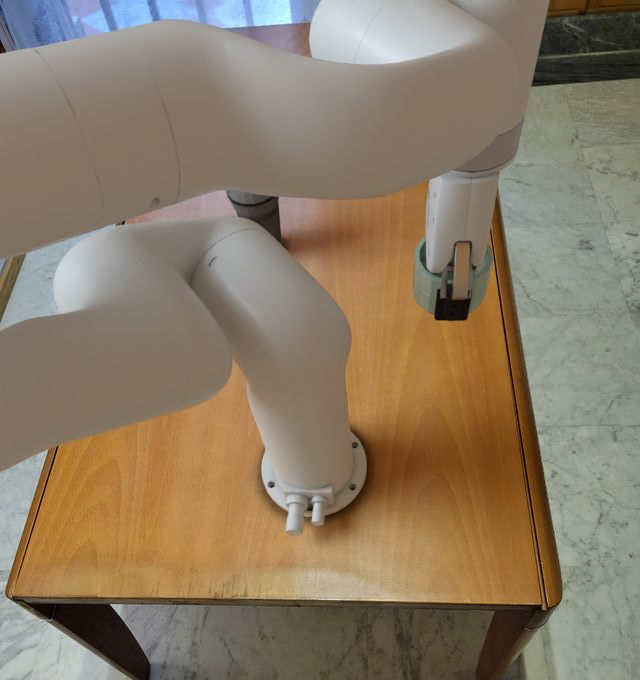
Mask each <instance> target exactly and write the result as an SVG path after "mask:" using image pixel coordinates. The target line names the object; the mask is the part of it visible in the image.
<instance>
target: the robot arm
mask: <svg viewBox="0 0 640 680" xmlns="http://www.w3.org/2000/svg"><path fill="white" fill-rule="evenodd" d="M550 1H551V0H320V1H319V3H318V4H317V7H316V9H314V13H313V16H312V18H311V22H310V25H309V26H310V27H309V34H308V43H309V50H310V55H311V57H310V56H306V55H302V54H299V53H295V52H292V51H287V50H285V49H283V48H282V49H281V48H278V47H276V46H273V45H270V44H268V43H265V42H262V41H259V40H257V39H254V38H251V37H250V36H246V35H243V34H241V33H238V32H235V31H231V30H230V29H229V30H228V29H226V28H223V27H222V28H221V27H219V26H215V25H211V24H207V23H202V22H197V21H192V20H187V19H180V18H179V19H178V18H166V19H160V20H155V21H151V22H146V23H144V24H138V25H132V26H128V27H124V28H119V29H113V30H110V31H106V32H101V33H97V34H92V35H88V36H82V37H77V38H73V39H67V40H64V41H63V40H62V41H59V42H58V41H57V42H54V43H49V44H44V45H38V46H35V47H25V48H22V49H16V50H12V51H7V52H2V53H0V261H5V260H8V259H12V258H15V257H19V256H23V255H26V254H30V253H32V252H35V251H39V250H41V249H44V248H47V247H50V246H53V245H56V244H59V243H63V242H65V241H68V240H72V239H75V238H77V237H80V236H83V235H86V234H89V233H92V232H94V233H92V234H89V235H88V236H86V237H85V238H82V239H81V240H79V242H77V243H76V244H74V245H73V246H72V247H71V248H70V249H69V250H68V251H67V252H66V253H65V254H64V256H63V257H62V259H61V260H60V262H59V264H58V265H57V268H56V270H55V273H54V276H53V277H54V278H53V284H52V292H53V298H54V302H55V305H56V308H57V311H58V313H59V314H51V315H44V316H37V317H32V318H27V319H24V320H21V321H18V322H16V323H13V324H12V325H11V324H10V325H9V326H7V327H5V328H3V329H1V330H0V473H2V472H4V471H6V470H9V469H10V468H13V467H14V466H16V465H18V464H20V463H22V462H24V461H26V460H28V459H31V458H32V457H34V456H37V455H39V454H42V453H44V452H46V451H48V450H50V449H53V448H56V447H60V446H63V445H66V444H68V443H72V442H75V441H76V442H77V441H79V440H83V439H88V438H92V437H95V436H99V435H102V434H106V433H109V432H113V431H116V430H119V429H123V428H126V427H130V426H133V425H137V424H140V423H144V422H147V421H151V420H156V419H159V418H162V417H165V416H169V415H172V414H176V413H178V412H182V411H185V410H189V409H191V408H193V407H194V408H195V407H196V406H199V405H201V404H204V403H206V402H207V401H209V400H211V399H213V398H214V397H215V396H217V395H218V394H219V393H220V392H221V391H222V390H223V389H224V388H225V387H226V385H227V384H228V382H229V380H230V378H231V376H232V375H231V374H232V371H233V361H234V362H235V364H236V365H237V366H238V369H240V371H241V372H242V375H243V376H244V378H245V380H246V381H247V384H246V397H247V401H248V405H249V407H250V411H251V414H252V416H253V419H254V421H255V423H256V427H257V429H258V432H259V435H260V438H261V441H262V443H263V447H264V449H265V450H264V454H263V457H262V460H261V467H260V470H261V478H262V482H263V486H264V488H265V490H266V492H267V494H268V495H269V497H270V499H271V500H272V501H273V502H274V503H275V504H277V505H278V507H280V508H281V509H283V510H285V511H286V512H288V513H287V516H286V524H285V525H286V526H285V534H286V535H288V536H291V537H292V536H293V537H300V536H303V534H304V525H305V517H306V518H311V525H313V526H314V527H315V526H317V527H322V526H324V524H325V516H329V515H332V514H334V513H337V512H339V511H340V510H342V509H344V508H346V507H347V506H348V505H350V504H351V502H353V501H354V500H355V499H356V497H357V496H358V495H359V493H360V492H361V490H362V488H363V486H364V484H365V481H366V477H367V473H368V472H367V471H368V470H367V469H368V468H367V467H368V463H367V456H366V452H365V448H364V447H363V445H362V442H361V441H360V439H359V438H358V437H357V436H356V435H355V433H354V432H352V431H351V425H350V415H349V413H350V412H349V403H348V395H347V385H346V384H347V383H346V370H347V363H348V360H349V355H350V352H351V348H352V339H353V335H352V328H351V325H350V322H349V320H348V318H347V316H346V314H345V312H344V311H343V309H342V308H341V306H340V305H339V304H338V302H337V301H336V300H335V299H334V297H333V296H332V295H331V294H330V293H329V291H328V290H326V288H325V287H324V286H323V285H322V284H321V283H320V282H319V281H318V280H317V279H316V278H315V277H314V276H313V275H312V274H311V273H310V272H309V271H308V270H307V268H305V266H303V265H302V264H301V263H300V262H299V261H298V260H297V259H296V258H295V257H294V256H293V255H292V254H291V253H290V252H289V251H288V250H287V249H286V248H285V247H284V246H283V245H282V243H281V244H280V243H279V242H278V241H277V240H276V239H275V238H274V237H273V236H272V235H271V234H270V233H269V232H267V231H266V230H265V229H264V228H263V227H262V226H260V225H259V224H257V223H255V222H254V221H251V220H249V219H246V218H242V217H238V216H235V215H213V216H202V217H192V218H191V217H190V218H179V219H169V220H167V219H166V220H157V221H146V222H134V223H126V224H120V225H115V224H119V223H122V222H124V221H128V220H130V219H133V218H136V217H139V216H143V215H146V214H148V213H152V212H155V211H158V210H160V209H161V210H162V209H164V208H166V207H170V206H174V205H177V204H181V203H183V202H185V201H189V200H192V199H194V198H197V197H200V196H204V195H207V194H210V193H214V192H221V191H226V190H233V191H240V192H246V193H252V194H258V195H266V196H276V197H279V198H291V199H294V198H295V199H313V200H314V199H315V200H332V201H334V200H335V201H336V200H337V201H342V200H343V201H351V200H352V201H353V200H366V199H374V198H379V197H386V196H388V195H389V196H390V195H393V194H396V193H399V192H401V191H404V190H407V189H410V188H413V187H414V186H418V185H420V184H423V183H426V182H428V188H427V195H426V196H427V197H426V204H425V236H426V264H427V268H428V270H429V271H430V272H431V273H441V286H440V289H437V295H436V304H435V312H434V315H433V318H434V321H438V322H439V321H441V322H442V321H443V322H444V321H447V322H464V321H467V320H468V318H469V314H468V313H469V308H470V303H471V297H472V279H473V271H474V272H475V273H476V272H478V271H479V270H480V269H481V268H482V265H483V262H484V258H485V254H486V249H487V244H489V239H490V234H491V228H492V223H493V217H494V211H495V204H496V199H497V195H498V193H497V192H498V185H499V179H500V173H501V171H503V170H505V169H506V168H508V166H510V165H511V163H512V162H514V161H515V158H516V156H517V154H518V150H519V146H520V145H519V144H520V140H521V135H522V130H523V125H524V121H525V117H526V113H527V108H528V102H529V99H530V93H531V90H532V84H533V80H534V76H535V75H534V74H535V72H536V71H535V70H536V66H537V61H538V57H539V52H540V48H541V43H542V38H543V34H544V29H545V24H546V20H547V15H548V12H549V11H548V10H549V6H550ZM112 225H115V226H112ZM95 231H96V232H95ZM452 256H454V262H450V261H451V259H452ZM448 272H453V285H447V280H448ZM352 489H353V490H352Z"/></svg>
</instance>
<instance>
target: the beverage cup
mask: <svg viewBox="0 0 640 680" xmlns="http://www.w3.org/2000/svg"><path fill="white" fill-rule="evenodd" d="M225 193H226V196H227V199H228V200H229V203H231V206H232V208H233V210H235V213H236V215H237V216H236V217H242V218H246V219H249V220H251V221H254V222H255V223H257V224H259V225H260V226H262V227H263V228H264V229H265V230H266V231H267V232H269V233H270V234H271V235H272V236H273V237H274V238H275V239H276V240H277V241H278V242H279V243H280V244H281V245H282V228H281V213H280V205H279V203H280V202H279V200H280V199H279V198H280V197H276V196H266V195H258V194H252V193H246V192H240V191H233V190H225Z"/></svg>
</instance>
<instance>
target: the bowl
mask: <svg viewBox="0 0 640 680" xmlns="http://www.w3.org/2000/svg"><path fill="white" fill-rule="evenodd" d="M418 242H419V243H418V244H417V246H416V248H415V250H414V262H413V276H412V277H413V278H412V296H413V298H414V300H415V302H416V304H417V305H418V306H419V307H420V308H422V309H423V310H424V311H425V312H427V313H428V314H430V315H433V316H434V312H435V304H436V295H437V289H440V286H441V273H431V272H430V271H429V270H428V268H427V264H426V235H425V236H424V237H423V238H421V239H420V241H418ZM450 262H454V256H452V259H451V261H450ZM493 263H494V252H493V247H491V245H490V244H489V243H488V244H487V249H486V254H485V258H484V262H483V265H482V268H481V269H480V270H479V271H478V272H476V273H475V272H474V271H473V279H472V297H471V303H470V308H469V313H468V315H470V314H472V313H473V312H474V311H475V310H477V309H478V308H479V307H481V306H482V304H483V302H484V300H485V298H486V295H487V291H488V287H489V281H490V277H491V273H492V268H493ZM447 285H453V272H448V280H447Z"/></svg>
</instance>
